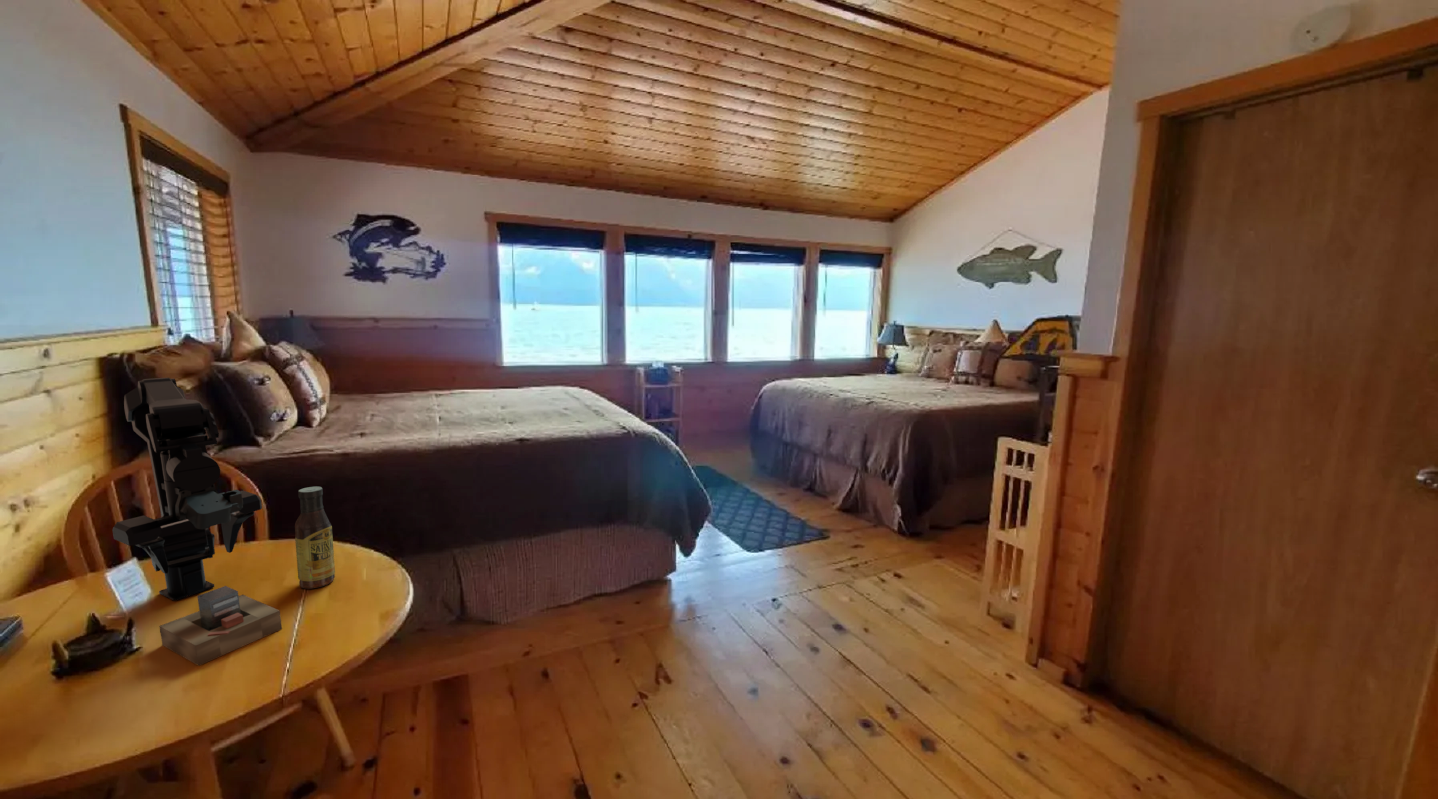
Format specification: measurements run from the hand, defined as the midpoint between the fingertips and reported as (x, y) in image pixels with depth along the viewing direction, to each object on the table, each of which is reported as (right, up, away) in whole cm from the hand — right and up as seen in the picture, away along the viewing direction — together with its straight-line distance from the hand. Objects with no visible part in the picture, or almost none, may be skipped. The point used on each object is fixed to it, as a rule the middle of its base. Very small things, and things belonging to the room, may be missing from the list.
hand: (198, 562), depth 104 cm
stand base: (+6, -12, -2) cm, 14 cm away
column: (+6, -12, -2) cm, 14 cm away
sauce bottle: (+9, -9, +18) cm, 22 cm away
